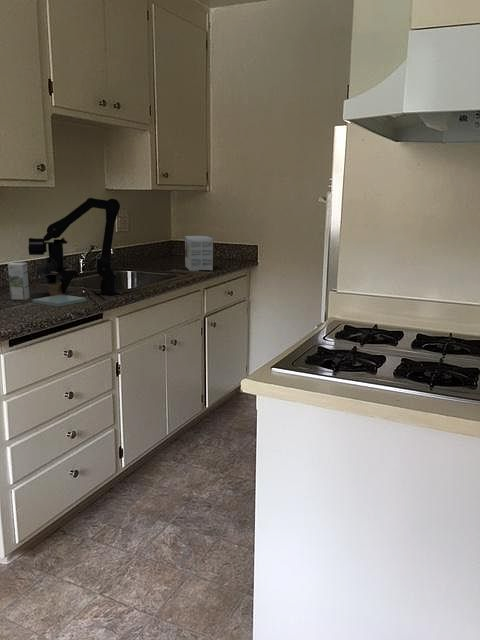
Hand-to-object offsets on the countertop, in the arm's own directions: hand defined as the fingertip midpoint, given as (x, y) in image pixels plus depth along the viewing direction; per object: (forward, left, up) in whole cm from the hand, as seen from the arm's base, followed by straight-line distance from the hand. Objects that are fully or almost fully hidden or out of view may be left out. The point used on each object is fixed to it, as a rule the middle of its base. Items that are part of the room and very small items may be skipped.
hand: (58, 292), depth 228 cm
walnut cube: (0, 0, -1) cm, 1 cm away
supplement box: (-103, -3, -2) cm, 103 cm away
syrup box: (+14, -6, -1) cm, 15 cm away
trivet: (+9, +11, -1) cm, 14 cm away
